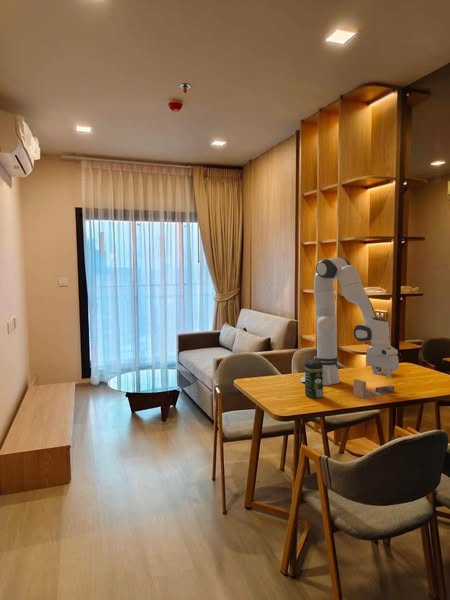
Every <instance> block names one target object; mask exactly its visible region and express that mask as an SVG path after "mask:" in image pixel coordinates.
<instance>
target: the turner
mask: <svg viewBox="0 0 450 600" xmlns="http://www.w3.org/2000/svg"><path fill="white" fill-rule="evenodd" d="M374 388H375V391H374V390H371V391H366V397H369V398H373V397H380V396H382V395H384V394H391V393H395V386H394V385H392V384H389V385H383V386H382V385H381V386H376V387H374Z"/></svg>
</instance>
